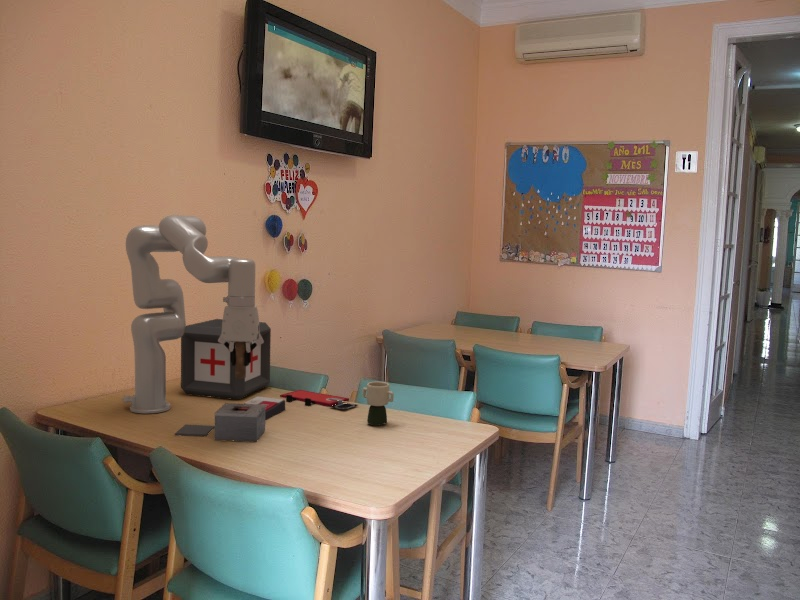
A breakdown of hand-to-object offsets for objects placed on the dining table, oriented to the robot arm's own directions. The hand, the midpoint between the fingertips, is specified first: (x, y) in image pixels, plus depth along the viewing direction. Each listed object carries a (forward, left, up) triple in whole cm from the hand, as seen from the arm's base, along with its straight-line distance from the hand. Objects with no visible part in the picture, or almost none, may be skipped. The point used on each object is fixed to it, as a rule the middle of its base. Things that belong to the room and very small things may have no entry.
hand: (240, 364), depth 197 cm
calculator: (0, +24, -22) cm, 32 cm away
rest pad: (-14, +2, -21) cm, 25 cm away
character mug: (+39, +17, -21) cm, 48 cm away
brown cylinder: (0, 0, -4) cm, 4 cm away
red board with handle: (+17, +43, -22) cm, 51 cm away
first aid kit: (-19, +53, -21) cm, 60 cm away
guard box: (0, 0, -21) cm, 21 cm away
